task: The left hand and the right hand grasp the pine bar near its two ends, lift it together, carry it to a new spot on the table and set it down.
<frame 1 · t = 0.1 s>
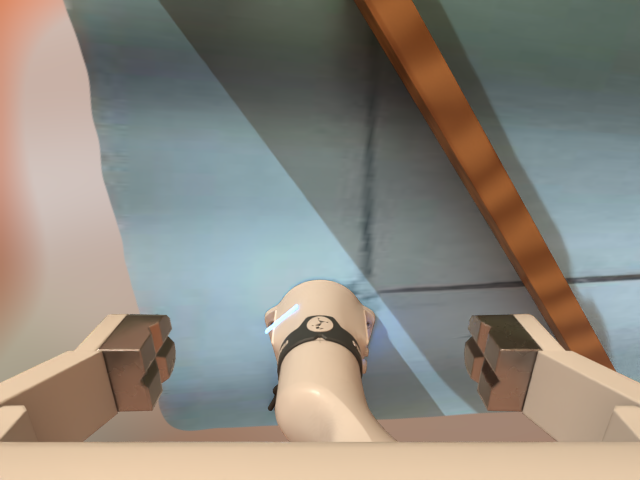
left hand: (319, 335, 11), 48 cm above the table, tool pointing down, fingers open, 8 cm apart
bar: (492, 202, 59), on the table
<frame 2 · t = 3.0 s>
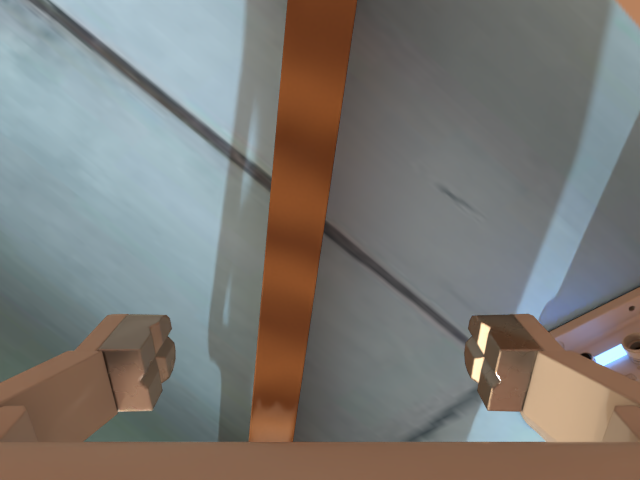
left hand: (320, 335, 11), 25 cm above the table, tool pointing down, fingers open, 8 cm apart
bar: (282, 358, 42), on the table
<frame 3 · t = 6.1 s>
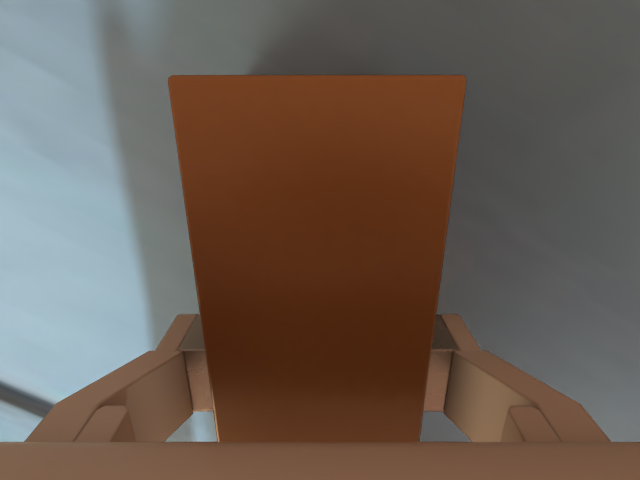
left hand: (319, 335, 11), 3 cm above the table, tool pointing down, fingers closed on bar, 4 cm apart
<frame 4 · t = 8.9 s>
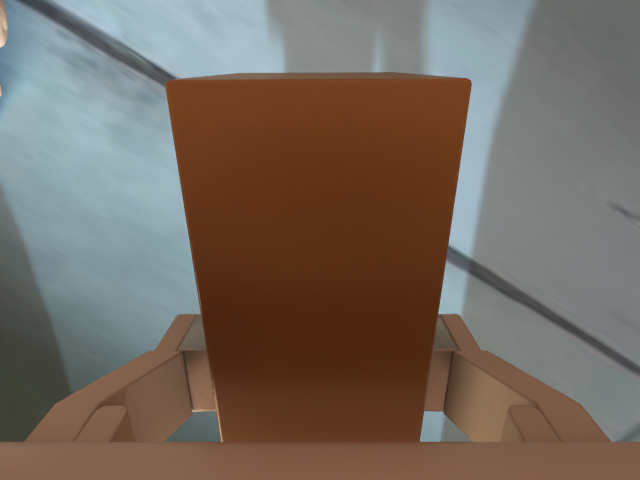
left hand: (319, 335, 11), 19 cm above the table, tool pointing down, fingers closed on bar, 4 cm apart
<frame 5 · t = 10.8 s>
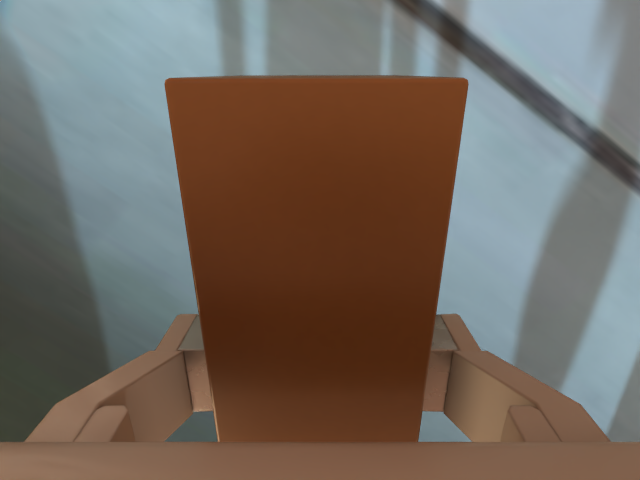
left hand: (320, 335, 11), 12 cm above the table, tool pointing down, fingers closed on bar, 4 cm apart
when the right hand's fingers open (1 cm above the table, at t = 11.9 s): bar drops 1 cm, on the table.
when the left hand's fingers open (5 cm above the table, at t = 12.0 s): bar stays where it is, on the table.
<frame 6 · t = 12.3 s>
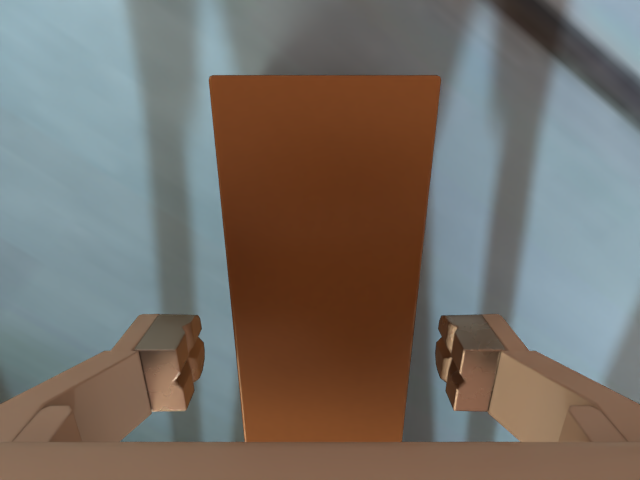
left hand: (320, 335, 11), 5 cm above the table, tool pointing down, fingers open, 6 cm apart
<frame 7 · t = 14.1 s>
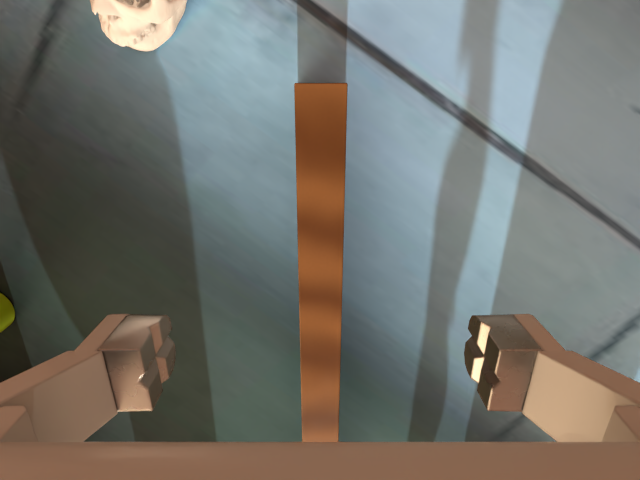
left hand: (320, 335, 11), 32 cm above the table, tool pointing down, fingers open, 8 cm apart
bar: (320, 381, 51), on the table
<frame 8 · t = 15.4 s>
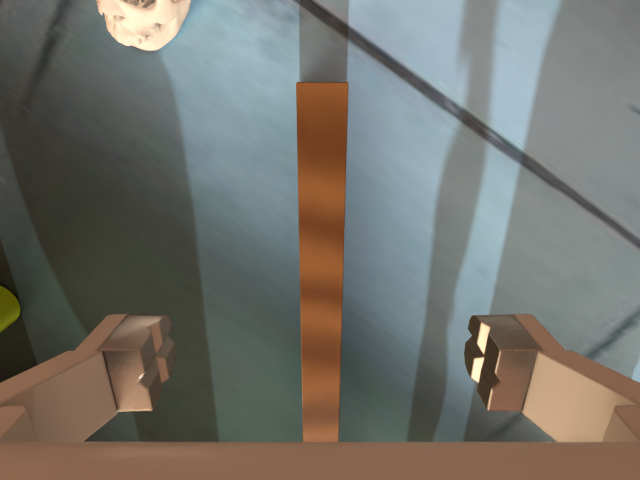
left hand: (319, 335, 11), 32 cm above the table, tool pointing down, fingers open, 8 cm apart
bar: (320, 377, 52), on the table
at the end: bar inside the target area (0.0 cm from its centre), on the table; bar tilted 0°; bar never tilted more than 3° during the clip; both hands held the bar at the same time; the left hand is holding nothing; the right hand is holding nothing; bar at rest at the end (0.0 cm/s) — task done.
